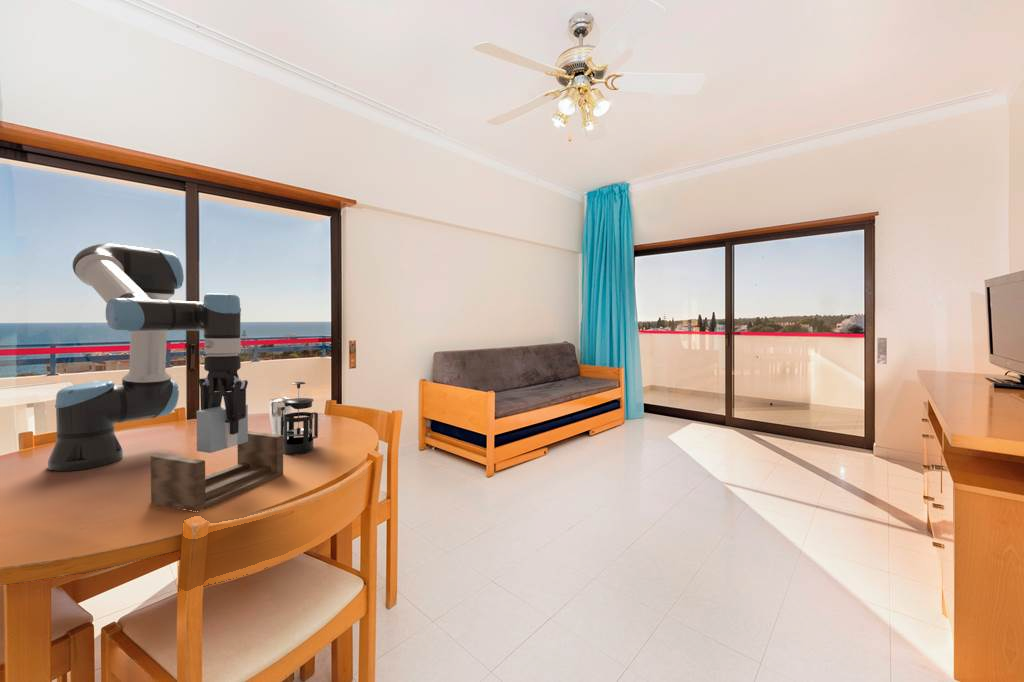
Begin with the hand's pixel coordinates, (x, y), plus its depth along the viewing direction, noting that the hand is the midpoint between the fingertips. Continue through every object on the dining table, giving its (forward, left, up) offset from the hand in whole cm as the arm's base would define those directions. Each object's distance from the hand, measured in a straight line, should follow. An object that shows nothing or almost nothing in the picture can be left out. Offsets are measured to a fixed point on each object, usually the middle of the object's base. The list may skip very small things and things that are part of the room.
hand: (223, 445), depth 103 cm
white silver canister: (-19, +37, -11) cm, 43 cm away
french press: (-5, +31, -11) cm, 33 cm away
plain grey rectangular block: (0, 0, 0) cm, 0 cm away
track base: (0, 0, -11) cm, 11 cm away
